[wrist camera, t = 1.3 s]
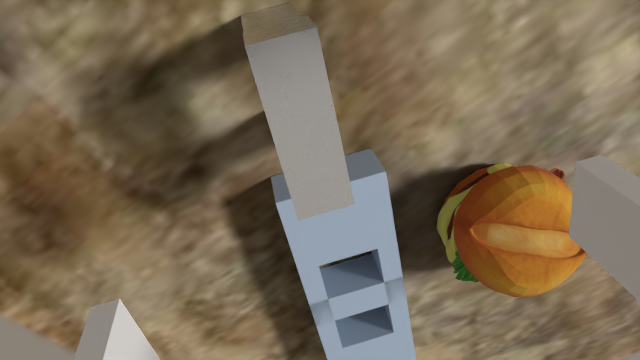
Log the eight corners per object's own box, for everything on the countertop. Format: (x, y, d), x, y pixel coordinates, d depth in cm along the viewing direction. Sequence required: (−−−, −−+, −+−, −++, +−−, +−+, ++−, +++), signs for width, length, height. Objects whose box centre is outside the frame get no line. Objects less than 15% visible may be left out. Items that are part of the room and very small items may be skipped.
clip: (238, 6, 26) (244, 46, 18) (287, -7, 26) (316, 26, 18) (278, 141, 31) (298, 220, 23) (320, 129, 31) (354, 204, 23)
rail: (270, 176, 32) (275, 203, 29) (370, 148, 32) (385, 171, 29) (331, 363, 43) (339, 396, 41) (404, 340, 44) (418, 371, 41)
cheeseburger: (447, 277, 40) (496, 351, 31) (403, 177, 37) (442, 225, 28) (552, 230, 40) (635, 291, 30) (516, 123, 36) (597, 154, 27)
